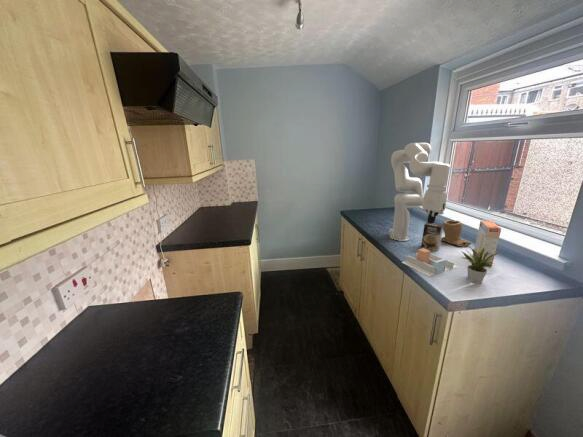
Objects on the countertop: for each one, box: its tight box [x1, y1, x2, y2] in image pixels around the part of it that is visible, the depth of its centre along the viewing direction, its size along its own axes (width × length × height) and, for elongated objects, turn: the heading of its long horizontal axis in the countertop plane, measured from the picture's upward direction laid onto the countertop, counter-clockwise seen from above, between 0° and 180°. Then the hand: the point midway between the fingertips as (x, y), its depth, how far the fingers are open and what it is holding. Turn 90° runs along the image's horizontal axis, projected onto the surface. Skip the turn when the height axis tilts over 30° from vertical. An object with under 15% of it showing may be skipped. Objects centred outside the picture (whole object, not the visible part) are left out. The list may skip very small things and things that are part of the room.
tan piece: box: [441, 219, 472, 247], centre depth 148 cm, size 15×12×15 cm
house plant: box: [460, 245, 503, 285], centre depth 105 cm, size 14×14×16 cm
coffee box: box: [420, 222, 444, 252], centre depth 139 cm, size 9×6×16 cm
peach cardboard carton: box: [417, 248, 431, 264], centre depth 120 cm, size 4×4×8 cm
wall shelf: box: [401, 252, 459, 277], centre depth 121 cm, size 16×22×7 cm
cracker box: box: [472, 220, 502, 266], centre depth 124 cm, size 14×6×21 cm, turn 153°
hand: (430, 222), depth 122 cm, fingers closed
